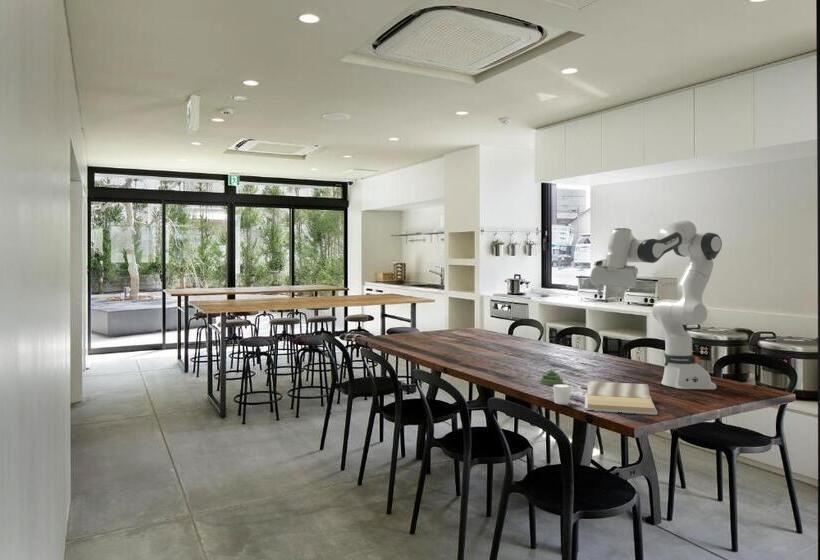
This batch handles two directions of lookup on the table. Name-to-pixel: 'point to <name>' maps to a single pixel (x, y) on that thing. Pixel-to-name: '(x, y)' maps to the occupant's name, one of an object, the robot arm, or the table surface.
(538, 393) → the table surface
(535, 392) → the table surface
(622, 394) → the tilted plank
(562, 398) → the white cylinder
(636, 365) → the table surface
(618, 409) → the cream square board
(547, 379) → the decorative artifact
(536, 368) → the table surface
